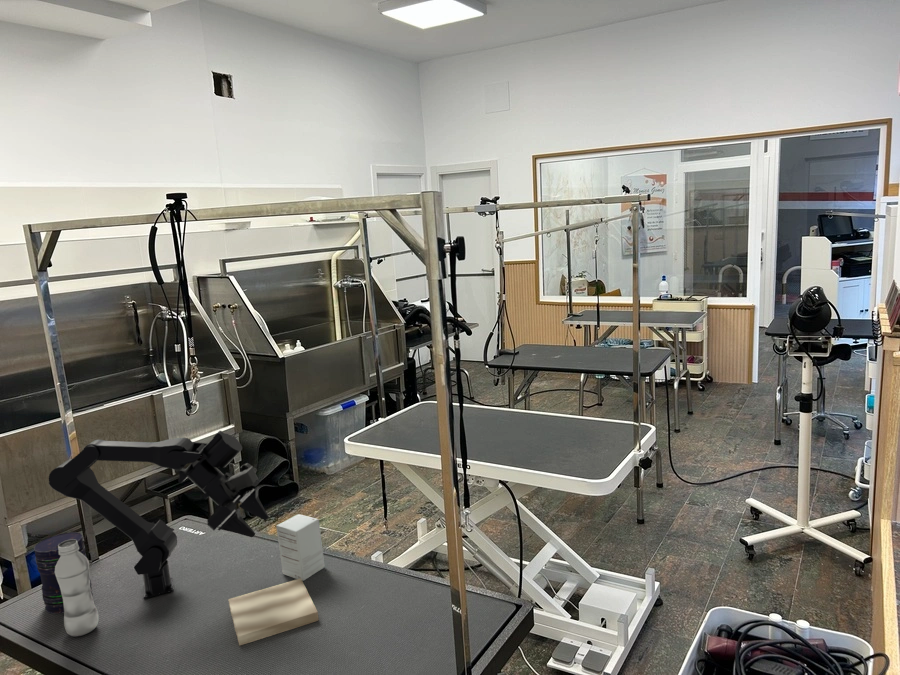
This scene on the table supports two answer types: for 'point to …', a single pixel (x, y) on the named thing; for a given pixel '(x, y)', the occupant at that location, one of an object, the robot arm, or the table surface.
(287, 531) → the supplement box
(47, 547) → the storage jar
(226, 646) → the table surface
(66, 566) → the plastic bottle
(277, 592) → the ash board
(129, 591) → the table surface
